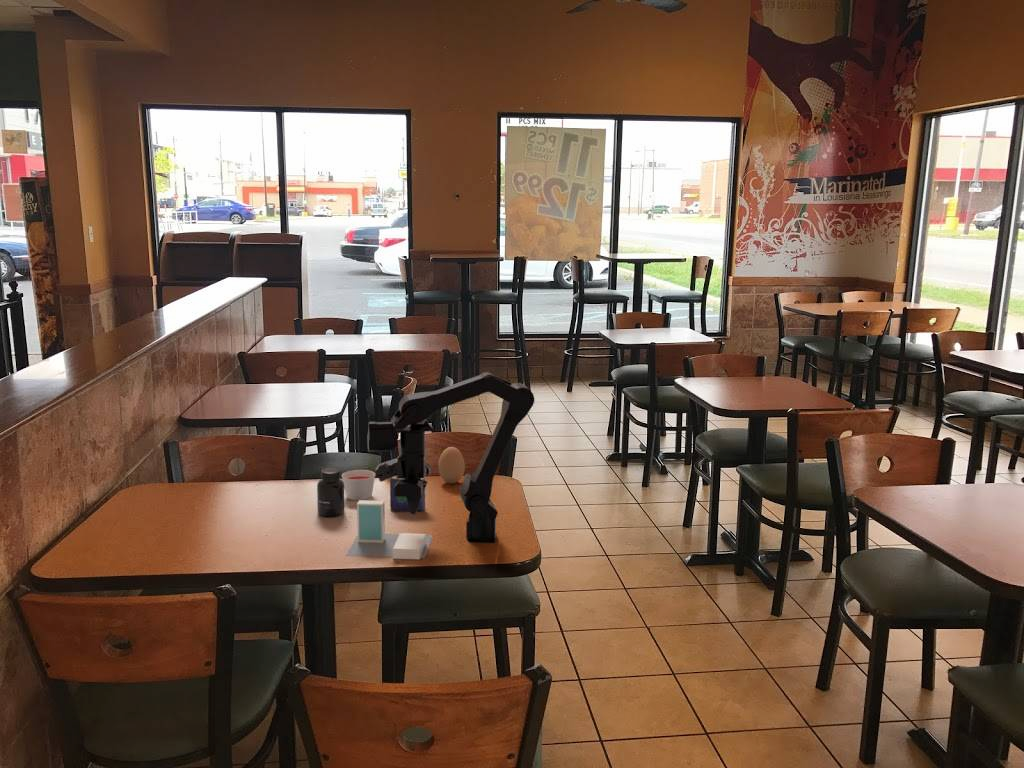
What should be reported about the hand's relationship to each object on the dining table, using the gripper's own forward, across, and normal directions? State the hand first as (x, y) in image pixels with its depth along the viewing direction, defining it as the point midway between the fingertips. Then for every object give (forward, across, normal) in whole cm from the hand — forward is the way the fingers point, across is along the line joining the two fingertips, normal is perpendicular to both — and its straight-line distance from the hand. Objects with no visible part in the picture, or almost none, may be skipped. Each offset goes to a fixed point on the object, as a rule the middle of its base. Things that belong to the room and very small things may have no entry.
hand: (413, 513), depth 203 cm
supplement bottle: (+8, -18, -24) cm, 31 cm away
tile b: (+7, 0, -10) cm, 12 cm away
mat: (+8, +2, -5) cm, 9 cm away
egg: (+8, -47, +4) cm, 48 cm away
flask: (+8, -23, -5) cm, 25 cm away
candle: (+8, -33, -20) cm, 39 cm away
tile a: (+6, +1, 0) cm, 6 cm away
